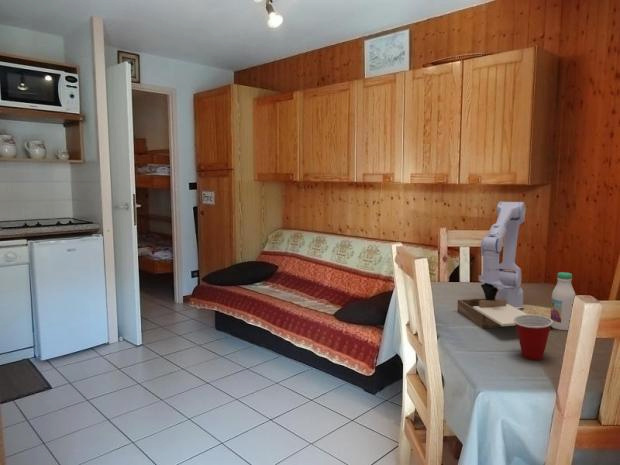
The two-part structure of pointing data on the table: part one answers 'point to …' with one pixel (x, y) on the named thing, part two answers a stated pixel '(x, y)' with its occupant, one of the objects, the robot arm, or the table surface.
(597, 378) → the table surface
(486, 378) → the table surface
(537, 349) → the plastic cup
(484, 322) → the storage box
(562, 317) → the milk bottle
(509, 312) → the lid
